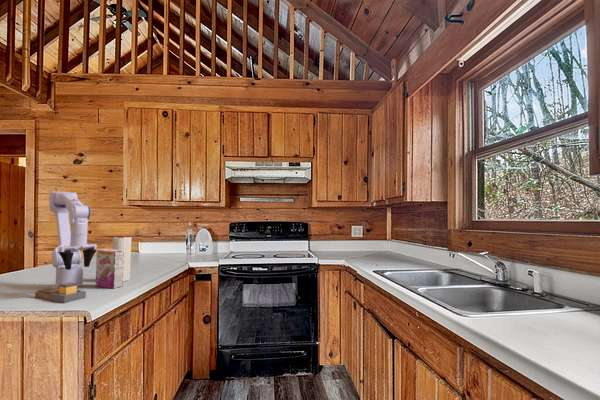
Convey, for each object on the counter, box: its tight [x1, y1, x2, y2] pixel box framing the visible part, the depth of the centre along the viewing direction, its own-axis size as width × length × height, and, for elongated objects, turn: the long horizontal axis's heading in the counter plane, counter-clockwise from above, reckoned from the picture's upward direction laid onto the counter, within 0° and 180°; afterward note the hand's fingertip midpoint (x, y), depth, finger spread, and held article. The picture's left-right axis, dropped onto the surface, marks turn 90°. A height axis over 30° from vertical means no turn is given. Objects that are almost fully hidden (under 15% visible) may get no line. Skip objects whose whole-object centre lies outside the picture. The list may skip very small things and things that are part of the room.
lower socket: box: [49, 289, 87, 304], centre depth 124 cm, size 8×8×3 cm
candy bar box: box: [95, 248, 124, 290], centre depth 146 cm, size 11×5×16 cm, turn 71°
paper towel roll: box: [112, 236, 133, 283], centre depth 157 cm, size 7×6×21 cm
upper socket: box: [34, 286, 59, 301], centre depth 128 cm, size 9×9×3 cm
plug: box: [59, 282, 78, 295], centre depth 124 cm, size 4×4×5 cm
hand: (77, 268), depth 133 cm, fingers open, 7 cm apart
